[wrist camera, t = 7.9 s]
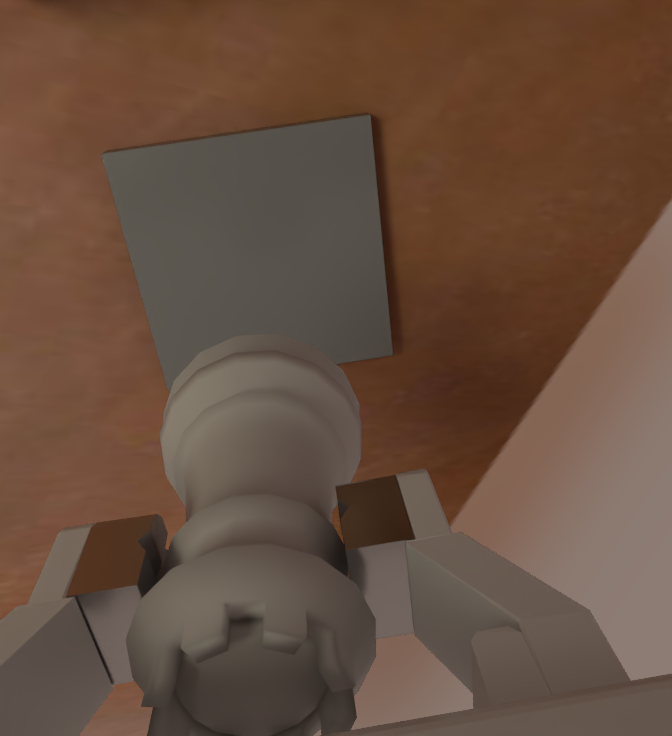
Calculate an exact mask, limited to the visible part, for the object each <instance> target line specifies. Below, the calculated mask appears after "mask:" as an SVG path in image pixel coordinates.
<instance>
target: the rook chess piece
mask: <svg viewBox="0 0 672 736" xmlns="http://www.w3.org/2000/svg"><path fill="white" fill-rule="evenodd" d="M163 419H164V421H163V424H162V427H161V430H160V433H159V434H160V441H161V448H162V455H163V462H164V469H165V473H166V477H167V479H168V480H169V482H170V483H171V485H172V486H173V488H174V490H175V491H176V493H177V494H178V496H179V497H180V499H181V500H182V502H183V503H184V505H185V506H186V523H185V524H184V525H183V527H182V528H181V529H180V530H179V531H178V532H177V533H176V534H175V535H174V536H173V538H172V541H171V544H170V547H169V550H168V552H167V555H166V558H165V561H164V564H163V568H164V575H165V576H164V577H163V578H162V579H161V580H160V581H159V582H158V583H157V584H156V585H155V586H154V587H153V588H152V589H151V590H150V591H149V592H148V593H147V594H146V595H145V596H144V597H143V598H142V599H141V600H140V601H139V602H138V605H137V608H136V611H135V614H134V616H133V619H132V622H131V625H130V628H129V631H128V634H127V637H126V646H127V651H128V656H129V662H130V667H131V672H132V678H133V679H134V680H135V682H136V683H137V684H138V686H139V687H140V688H141V689H142V691H143V692H144V696H143V700H142V704H141V707H153V710H152V715H151V720H150V725H149V729H148V734H147V736H313V735H314V734H316V733H317V732H318V731H319V730H320V729H321V734H322V735H327V734H333V733H338V732H344V731H350V730H351V728H352V726H353V724H354V722H355V720H356V718H357V717H356V709H355V702H354V695H355V694H356V693H357V692H358V691H359V689H360V686H361V685H362V683H363V681H364V679H365V677H366V675H367V673H368V671H369V669H370V667H371V665H372V663H373V661H374V659H375V657H376V619H375V617H374V615H373V613H372V611H371V609H370V608H369V606H368V604H367V602H366V600H365V599H364V597H363V595H362V593H361V591H360V589H359V588H358V586H357V584H356V583H354V582H353V581H352V580H350V579H349V578H348V566H347V560H346V554H345V547H344V545H343V543H342V541H341V539H340V537H339V535H338V533H337V532H336V530H335V528H334V526H333V524H332V523H331V521H332V510H333V509H334V508H335V507H336V505H337V503H338V502H337V496H336V489H335V485H340V484H346V483H351V481H352V479H353V476H354V474H355V472H356V469H357V467H358V465H359V462H360V459H361V456H362V455H361V420H360V416H359V402H358V400H357V397H356V395H355V393H354V391H353V389H352V387H351V385H350V383H349V381H348V379H347V377H346V374H345V372H344V371H343V370H342V369H341V368H340V367H339V366H337V365H336V364H335V363H334V362H333V361H332V360H330V359H329V358H328V357H327V356H326V355H325V354H323V353H322V352H321V351H320V350H319V349H318V348H316V347H315V346H313V345H310V344H307V343H304V342H301V341H298V340H295V339H292V338H289V337H286V336H282V335H279V334H261V335H242V336H235V337H232V338H230V339H228V340H226V341H224V342H222V343H219V344H217V345H215V346H213V347H211V348H208V349H206V350H204V351H202V352H200V353H199V354H198V355H197V356H196V357H195V358H194V359H193V360H192V361H191V363H190V364H189V365H188V366H187V367H186V368H185V369H184V370H183V371H182V372H181V373H180V375H179V376H178V377H177V378H176V379H175V380H174V382H173V385H172V388H171V391H170V395H169V398H168V401H167V404H166V407H165V410H164V413H163Z"/></svg>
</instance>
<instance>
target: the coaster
mask: <svg viewBox="0 0 672 736" xmlns="http://www.w3.org/2000/svg"><path fill="white" fill-rule="evenodd" d="M101 155H102V159H103V163H104V166H105V170H106V173H107V177H108V180H109V184H110V187H111V191H112V194H113V198H114V201H115V205H116V208H117V212H118V216H119V219H120V223H121V226H122V230H123V233H124V237H125V240H126V244H127V247H128V251H129V254H130V258H131V262H132V265H133V269H134V272H135V276H136V279H137V283H138V286H139V290H140V293H141V297H142V300H143V304H144V308H145V311H146V315H147V318H148V322H149V325H150V329H151V332H152V336H153V339H154V343H155V346H156V350H157V354H158V357H159V361H160V364H161V368H162V371H163V375H164V378H165V382H166V385H167V389H168V390H171V388H172V385H173V382H174V380H175V379H176V378H177V377H178V376H179V375H180V373H181V372H182V371H183V370H184V369H185V368H186V367H187V366H188V365H189V364H190V363H191V361H192V360H193V359H194V358H195V357H196V356H197V355H198V354H199V353H200V352H202V351H204V350H206V349H208V348H211V347H213V346H215V345H217V344H219V343H222V342H224V341H226V340H228V339H230V338H232V337H235V336H242V335H261V334H279V335H282V336H286V337H289V338H292V339H295V340H298V341H301V342H304V343H307V344H310V345H313V346H315V347H316V348H318V349H319V350H320V351H321V352H322V353H323V354H325V355H326V356H327V357H328V358H329V359H330V360H332V361H333V362H334V363H335V364H340V363H346V362H353V361H359V360H365V359H372V358H378V357H384V356H391V355H393V349H392V338H391V328H390V317H389V306H388V296H387V285H386V275H385V264H384V253H383V243H382V232H381V222H380V211H379V201H378V190H377V179H376V169H375V158H374V148H373V137H372V127H371V116H370V114H368V113H361V114H354V115H348V116H341V117H334V118H327V119H320V120H313V121H306V122H299V123H293V124H286V125H279V126H272V127H265V128H258V129H251V130H244V131H238V132H231V133H224V134H217V135H210V136H203V137H196V138H189V139H183V140H176V141H169V142H162V143H155V144H148V145H141V146H134V147H128V148H121V149H114V150H107V151H105V152H103V153H102V154H101Z"/></svg>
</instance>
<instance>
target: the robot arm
mask: <svg viewBox="0 0 672 736" xmlns="http://www.w3.org/2000/svg"><path fill="white" fill-rule="evenodd" d="M335 489H336V496H337V502H338V509H339V516H340V522H341V529H342V534H343V541H344V547H345V554H346V560H347V566H348V572H349V579H350V580H352V581H353V582H354V583H356V584H357V586H358V588H359V589H360V591H361V593H362V595H363V597H364V599H365V600H366V602H367V604H368V606H369V608H370V609H371V611H372V613H373V615H374V617H375V619H376V639H378V638H385V637H392V636H399V635H406V634H413V633H415V636H416V637H417V638H418V639H419V640H420V641H421V642H422V643H423V644H424V645H425V646H426V647H427V648H428V649H429V650H430V651H431V652H432V653H433V654H434V655H435V656H436V657H437V658H438V659H439V660H440V661H441V662H442V663H443V664H444V665H445V666H446V667H447V668H448V669H449V670H450V671H451V672H452V673H453V674H454V675H455V676H456V677H457V678H458V679H459V680H460V681H461V682H462V683H463V684H464V685H465V686H466V687H467V688H468V689H469V690H470V691H471V692H472V693H473V709H470V710H464V711H458V712H453V713H447V714H442V715H435V716H430V717H424V718H418V719H413V720H407V721H401V722H396V723H390V724H384V725H378V726H373V727H367V728H362V729H356V730H350V731H344V732H338V733H333V734H327V735H321V736H672V674H667V675H661V676H656V677H650V678H645V679H639V680H633V681H631V680H630V679H629V677H628V675H627V673H626V672H625V670H624V668H623V666H622V665H621V663H620V661H619V660H618V658H617V656H616V655H615V653H614V651H613V649H612V648H611V646H610V644H609V642H608V641H607V639H606V637H605V636H604V634H603V632H602V630H601V629H600V627H599V625H598V624H597V622H596V620H595V619H594V617H593V615H592V613H591V612H590V610H589V609H587V608H585V607H583V606H582V605H580V604H579V603H577V602H575V601H574V600H572V599H571V598H569V597H567V596H566V595H564V594H562V593H561V592H559V591H557V590H556V589H554V588H552V587H551V586H549V585H547V584H546V583H544V582H542V581H541V580H539V579H537V578H536V577H534V576H533V575H531V574H529V573H528V572H526V571H524V570H523V569H521V568H520V567H518V566H516V565H515V564H513V563H511V562H510V561H508V560H506V559H505V558H503V557H501V556H500V555H498V554H497V553H495V552H493V551H491V550H490V549H488V548H487V547H485V546H483V545H482V544H480V543H478V542H477V541H475V540H473V539H472V538H470V537H469V536H467V535H465V534H464V533H462V532H458V533H452V532H451V529H450V527H449V524H448V522H447V519H446V517H445V514H444V512H443V509H442V506H441V504H440V501H439V499H438V496H437V494H436V491H435V489H434V486H433V484H432V481H431V479H430V476H429V473H428V471H427V470H425V469H419V470H414V471H409V472H404V473H398V474H395V475H394V476H388V477H382V478H376V479H370V480H364V481H358V482H352V483H346V484H340V485H335ZM167 535H168V533H167V530H166V528H165V525H164V522H163V519H162V517H160V516H159V515H158V514H154V515H147V516H140V517H133V518H126V519H119V520H111V521H104V522H97V523H96V524H94V523H92V524H85V525H79V526H73V527H66V528H64V529H63V530H62V531H60V532H59V533H58V535H57V537H56V540H55V542H54V544H53V547H52V549H51V551H50V553H49V556H48V558H47V560H46V563H45V565H44V567H43V569H42V572H41V574H40V576H39V578H38V581H37V583H36V585H35V588H34V590H33V592H32V594H31V597H30V599H29V601H28V603H27V605H22V606H17V607H16V608H15V609H13V610H12V611H11V612H10V613H9V614H7V615H6V616H5V617H4V618H3V619H2V620H0V736H79V734H80V733H81V732H82V730H83V729H84V728H85V726H86V725H87V723H88V722H89V721H90V719H91V718H92V717H93V715H94V714H95V713H96V711H97V710H98V709H99V707H100V706H101V705H102V703H103V702H104V700H105V699H106V698H107V696H108V695H109V694H110V692H111V691H112V690H113V686H112V685H117V684H122V683H127V682H132V681H135V680H134V679H133V678H132V672H131V667H130V662H129V656H128V651H127V646H126V637H127V634H128V631H129V628H130V625H131V622H132V619H133V616H134V614H135V611H136V608H137V605H138V602H139V601H140V600H141V599H142V598H143V597H144V596H145V595H146V594H147V593H148V592H149V591H150V590H151V589H152V588H153V587H154V586H155V585H156V584H157V583H158V582H159V581H160V580H161V579H162V578H163V577H164V576H165V575H164V568H163V564H164V561H165V558H166V555H167V552H168V550H167V549H165V545H166V540H167Z"/></svg>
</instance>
